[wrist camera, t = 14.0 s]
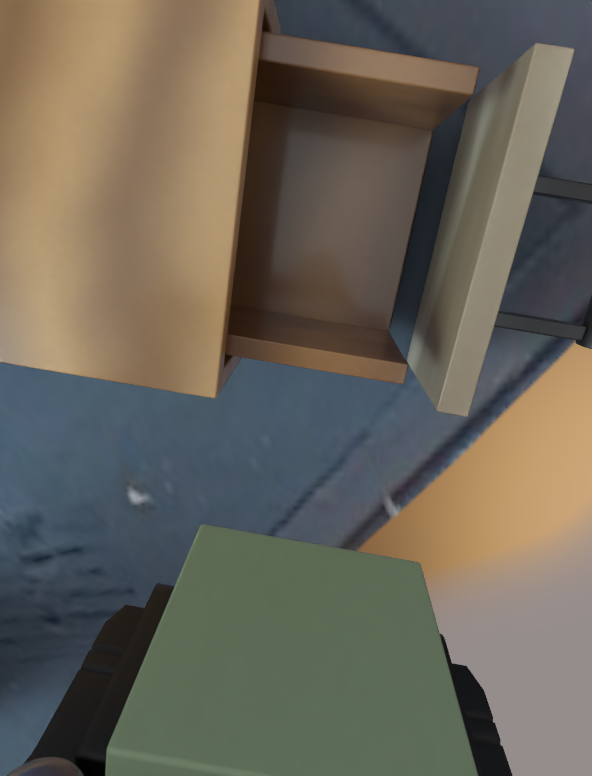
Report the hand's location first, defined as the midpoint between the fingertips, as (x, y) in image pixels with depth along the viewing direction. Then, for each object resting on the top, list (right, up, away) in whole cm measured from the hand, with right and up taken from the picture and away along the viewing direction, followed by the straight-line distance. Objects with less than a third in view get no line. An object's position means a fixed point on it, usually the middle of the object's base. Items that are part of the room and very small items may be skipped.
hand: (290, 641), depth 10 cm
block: (0, 0, 0) cm, 0 cm away
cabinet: (-9, +15, +14) cm, 23 cm away
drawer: (+4, +13, +13) cm, 19 cm away
